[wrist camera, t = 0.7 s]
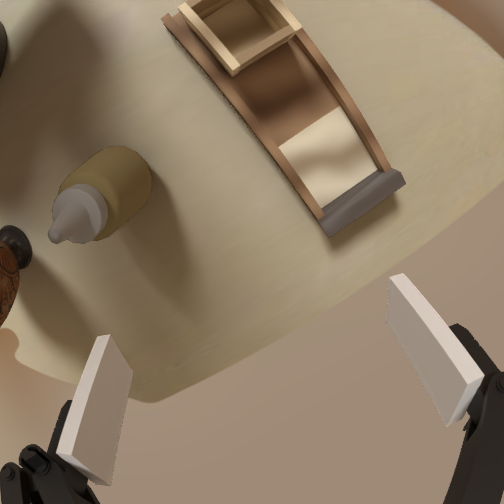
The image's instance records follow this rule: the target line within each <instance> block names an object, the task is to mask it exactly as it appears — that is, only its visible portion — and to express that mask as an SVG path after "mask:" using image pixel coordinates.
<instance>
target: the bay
mask: <svg viewBox="0 0 504 504" xmlns="http://www.w3.org/2000/svg"><path fill="white" fill-rule="evenodd" d="M161 20H162V21H163V23H164V25H165V26H166V28H167V29H168V30H169V31H170V32H171V33H172V34H173V35H174V36H175V38H176V39H177V40H178V41H179V42H180V43H181V44H182V46H183V47H184V48H185V49H186V50H187V51H188V52H189V54H190V55H191V56H192V57H193V58H194V59H195V61H196V62H197V63H198V64H199V65H200V66H201V68H202V69H203V70H204V71H205V72H206V74H207V75H208V76H209V77H210V78H211V80H212V81H213V82H214V83H215V84H216V86H217V87H218V88H219V89H220V91H221V92H222V93H223V94H224V95H225V97H226V98H227V99H228V100H229V102H230V103H231V104H232V105H233V107H234V108H235V109H236V111H237V112H238V113H239V114H240V116H241V117H242V118H243V119H244V121H245V122H246V123H247V125H248V126H249V127H250V128H251V130H252V131H253V132H254V134H255V135H256V136H257V138H258V139H259V140H260V142H261V143H262V144H263V146H264V147H265V148H266V150H267V151H268V152H269V154H270V155H271V156H272V158H273V159H274V160H275V162H276V163H277V164H278V166H279V167H280V169H281V170H282V171H283V173H284V174H285V175H286V177H287V178H288V180H289V181H290V182H291V184H292V185H293V187H294V188H295V190H296V191H297V192H298V194H299V195H300V197H301V198H302V199H303V201H304V202H305V204H306V205H307V207H308V208H309V210H310V211H311V212H312V214H313V215H314V217H315V218H316V220H317V221H318V223H319V224H320V225H321V227H322V228H323V230H324V231H325V233H326V234H327V235H328V237H329V238H330V237H331V236H333V235H334V234H336V233H337V232H339V231H340V230H342V229H343V228H345V227H346V226H347V225H349V224H350V223H352V222H353V221H355V220H356V219H357V218H359V217H360V216H362V215H363V214H365V213H366V212H367V211H369V210H370V209H372V208H373V207H374V206H376V205H377V204H379V203H380V202H382V201H383V200H384V199H386V198H387V197H389V196H390V195H391V194H393V193H394V192H396V191H397V190H398V189H400V188H401V187H402V186H404V185H405V184H406V182H405V180H404V178H403V176H402V174H401V172H399V171H397V170H395V169H393V168H391V166H390V164H389V162H388V160H387V158H386V157H385V155H384V153H383V151H382V149H381V147H380V145H379V144H378V142H377V140H376V138H375V136H374V135H373V133H372V131H371V129H370V128H369V126H368V124H367V122H366V121H365V119H364V117H363V116H362V114H361V112H360V111H359V109H358V107H357V106H356V104H355V103H354V101H353V99H352V98H351V96H350V95H349V93H348V92H347V90H346V88H345V87H344V85H343V84H342V82H341V81H340V79H339V78H338V76H337V75H336V73H335V72H334V71H333V69H332V68H331V66H330V65H329V63H328V62H327V61H326V59H325V58H324V56H323V55H322V54H321V52H320V51H319V49H318V48H317V47H316V45H315V44H314V43H313V41H312V40H311V39H310V38H309V36H308V35H307V34H306V32H305V31H304V30H303V29H302V28H301V29H300V30H299V31H298V32H297V33H296V34H295V35H294V36H293V37H292V38H291V39H290V40H289V41H288V42H286V43H284V44H283V45H281V46H279V47H278V48H276V49H274V50H273V51H271V52H270V53H268V54H266V55H265V56H263V57H262V58H260V59H259V60H257V61H255V62H254V63H252V64H251V65H249V66H248V67H246V68H245V69H243V70H242V71H240V72H239V73H238V74H236V75H235V76H233V77H231V76H230V75H229V73H228V72H227V71H226V70H225V69H224V67H223V66H222V65H221V64H220V63H219V61H218V60H217V59H216V58H215V57H214V55H213V54H212V53H211V52H210V51H209V50H208V48H207V47H206V46H205V45H204V44H203V43H202V42H201V40H200V39H199V38H198V37H197V36H196V35H195V34H194V32H193V31H192V30H191V29H190V28H189V27H188V26H187V24H186V22H185V20H184V19H183V17H182V15H181V13H180V12H179V13H177V14H176V15H175V16H173V17H171V16H170V14H169V13H168V14H166V15H165V16H164V17H162V18H161Z"/></svg>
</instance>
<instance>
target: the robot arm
mask: <svg viewBox="0 0 504 504" xmlns="http://www.w3.org/2000/svg"><path fill="white" fill-rule="evenodd" d="M5 56H6V34H5V30H4V27H3V25H2V24H1V22H0V75H1V72H2V69H3V65H4V61H5ZM386 323H387V325H388V326H389V328H390V329H391V331H392V333H393V334H394V336H395V338H396V339H397V341H398V342H399V344H400V346H401V347H402V349H403V351H404V352H405V354H406V356H407V357H408V359H409V360H410V362H411V364H412V366H413V367H414V369H415V371H416V373H417V374H418V376H419V378H420V380H421V381H422V383H423V385H424V387H425V388H426V390H427V392H428V394H429V395H430V397H431V399H432V401H433V403H434V404H435V406H436V408H437V410H438V412H439V414H440V416H441V418H442V419H443V421H444V423H445V425H446V426H449V425H451V424H453V423H455V422H457V421H459V420H461V419H462V418H463V416H464V415H465V413H466V411H467V412H468V414H469V415H470V418H469V420H468V422H467V423H466V425H465V427H464V429H463V431H465V430H466V434H465V437H464V441H463V445H462V448H461V452H460V455H459V459H458V462H457V465H456V468H455V472H454V475H453V478H452V481H451V484H450V487H449V489H448V492H447V494H446V497H445V500H444V502H443V504H500V501H501V498H502V494H503V491H504V372H501V371H500V370H499V369H498V368H497V367H496V365H495V364H494V363H493V361H492V360H491V359H490V357H489V356H488V355H487V353H486V352H485V351H484V350H483V348H482V347H481V346H479V343H478V342H477V341H476V340H474V337H473V336H472V335H471V333H470V332H469V331H468V330H467V329H466V328H464V327H462V326H461V325H459V324H458V323H457V324H454V325H452V326H449V327H448V326H447V325H446V323H445V322H444V321H443V320H442V318H441V317H440V316H439V315H438V313H437V312H436V311H435V310H434V309H433V307H432V306H431V305H430V304H429V303H428V301H427V300H426V299H425V298H424V297H423V295H422V294H421V293H420V292H419V291H418V289H417V288H416V287H415V286H414V285H413V284H412V283H411V281H410V280H409V279H408V278H407V277H406V276H405V275H404V274H399V275H395V276H392V277H389V289H388V305H387V318H386ZM133 374H134V373H133V371H132V370H131V368H130V366H129V365H128V363H127V362H126V360H125V358H124V357H123V355H122V353H121V352H120V350H119V348H118V347H117V345H116V343H115V342H114V340H113V338H112V336H111V335H102V336H97V338H96V341H95V343H94V346H93V348H92V351H91V353H90V356H89V358H88V361H87V363H86V366H85V368H84V371H83V374H82V376H81V379H80V381H79V384H78V387H77V390H76V393H75V395H74V398H73V400H68V401H67V402H66V403H65V405H64V406H63V407H62V409H61V411H60V414H59V417H58V420H57V423H56V428H55V429H54V432H53V435H52V438H51V441H50V444H49V447H48V451H47V453H46V452H45V451H44V450H43V449H41V448H40V447H39V446H37V445H35V444H31V445H28V446H26V447H25V448H24V449H23V450H22V452H21V453H20V456H19V465H21V466H22V467H23V468H20V467H19V466H18V465H17V464H15V463H13V462H9V463H7V464H5V465H4V466H3V467H2V469H1V471H0V491H1V501H2V504H30V503H31V504H100V503H99V501H98V499H97V498H96V496H95V494H94V493H93V491H92V490H91V488H90V487H89V486H88V485H87V482H88V479H89V480H91V481H92V482H93V483H95V484H98V485H106V486H111V483H112V476H113V470H114V464H115V458H116V453H117V448H118V442H119V437H120V432H121V427H122V422H123V418H124V413H125V408H126V404H127V399H128V395H129V391H130V386H131V382H132V378H133Z"/></svg>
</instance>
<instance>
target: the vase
mask: <svg viewBox="0 0 504 504" xmlns="http://www.w3.org/2000/svg"><path fill="white" fill-rule="evenodd" d="M31 255H32V254H31V247H30V244H29V242H28V239H27V237H26V236H25V234H24V233H23V232H22V231H21V230H20V229H18V228H17V227H15V226H4V227H3V228H1V230H0V327H1V326H2V324H3V323H4V321H5V319H6V318H7V316H8V314H9V312H10V310H11V308H12V305H13V303H14V300H15V298H16V294H17V291H18V286H19V269H23V268H26V267H27V266H28V265H29V263H30V261H31Z"/></svg>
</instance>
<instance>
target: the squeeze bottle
mask: <svg viewBox="0 0 504 504" xmlns="http://www.w3.org/2000/svg"><path fill="white" fill-rule="evenodd" d="M151 191H152V175H151V173H150V170H149V167H148V165H147V163H146V161H145V160H144V159H143V158H142V157H141V156H140V155H139V154H138V153H137V152H135V151H133V150H131V149H129V148H127V147H124V146H110V147H108V148H106V149H104V150H101V151H99V152H98V153H96V154H95V155H94V156H92V157H91V158H90V159H88V160H87V161H86V162H85V163H83V164H82V165H81V166H80V167H78V168H77V169H76V170H75V171H73V172H72V173H71V174H70V175H69V176H68V177H67V178H66V179H65V181H64V182H63V183H62V184H61V186H60V190H59V193H58V197H57V198H56V199H55V201H54V205H53V209H52V213H53V221H54V223H53V225H52V227H51V228H50V230H49V233H48V236H49V239H50V240H51V242H53V243H55V244H58V243H60V242H62V241H65V240H69V241H71V242H73V243H81V244H84V243H87V242H89V241H98V240H101V239H104V238H106V237H109V236H110V235H111V234H112V233H113V232H115V231H116V230H117V229H118V228H119V227H120V226H122V225H123V224H124V223H125V222H126V221H128V220H129V219H130V218H131V217H132V216H133V215H135V214H136V213H137V212H138V211H139V210H140V209H141V208H142V207H143V206H144V205H145V204H146V203H147V201H148V198H149V196H150V194H151Z"/></svg>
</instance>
